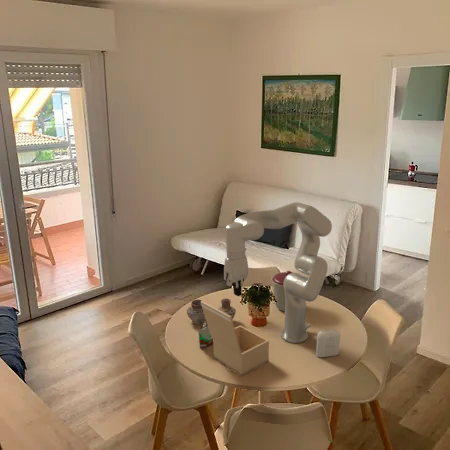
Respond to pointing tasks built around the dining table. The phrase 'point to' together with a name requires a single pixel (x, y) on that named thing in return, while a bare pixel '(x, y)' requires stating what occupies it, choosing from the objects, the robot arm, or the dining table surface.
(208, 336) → the food container
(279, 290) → the canister
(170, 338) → the dining table surface
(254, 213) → the robot arm
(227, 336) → the carton lid
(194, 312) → the pottery
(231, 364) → the carton
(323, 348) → the photo printer
